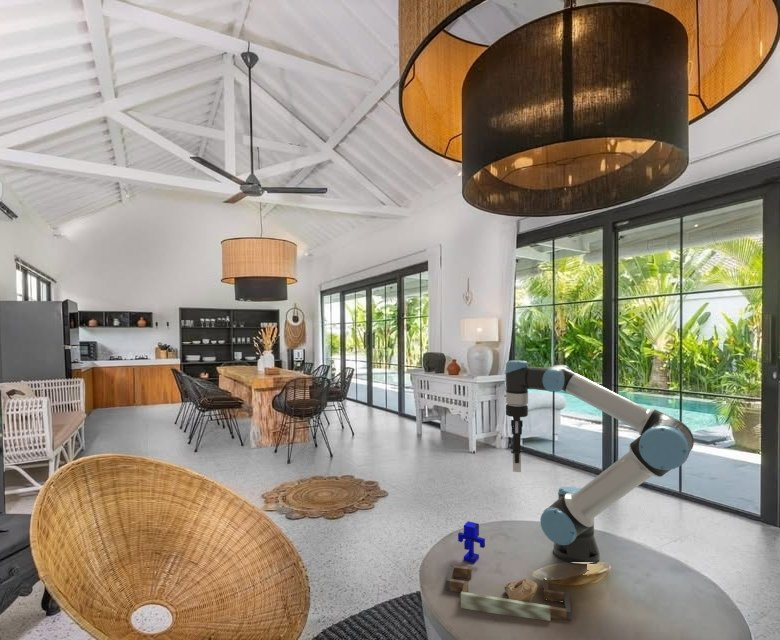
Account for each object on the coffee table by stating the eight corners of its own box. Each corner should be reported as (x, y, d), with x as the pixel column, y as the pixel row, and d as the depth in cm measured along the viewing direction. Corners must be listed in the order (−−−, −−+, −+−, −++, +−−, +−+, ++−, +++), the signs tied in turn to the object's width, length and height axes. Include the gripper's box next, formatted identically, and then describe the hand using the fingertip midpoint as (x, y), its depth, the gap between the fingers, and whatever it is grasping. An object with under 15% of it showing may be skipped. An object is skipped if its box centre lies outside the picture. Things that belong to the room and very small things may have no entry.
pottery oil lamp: (519, 587, 143) (519, 564, 143) (544, 610, 131) (544, 585, 131) (494, 593, 140) (494, 569, 140) (518, 617, 128) (518, 591, 128)
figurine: (465, 566, 155) (465, 530, 155) (457, 555, 162) (456, 521, 162) (486, 563, 157) (486, 528, 157) (477, 552, 164) (476, 518, 164)
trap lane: (565, 589, 141) (565, 576, 141) (571, 626, 124) (571, 611, 124) (451, 572, 151) (451, 560, 151) (442, 604, 134) (442, 590, 134)
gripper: (506, 400, 170) (506, 464, 170) (505, 407, 158) (505, 476, 157) (527, 401, 168) (527, 466, 168) (528, 408, 155) (528, 478, 155)
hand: (516, 471), depth 163 cm, fingers closed
